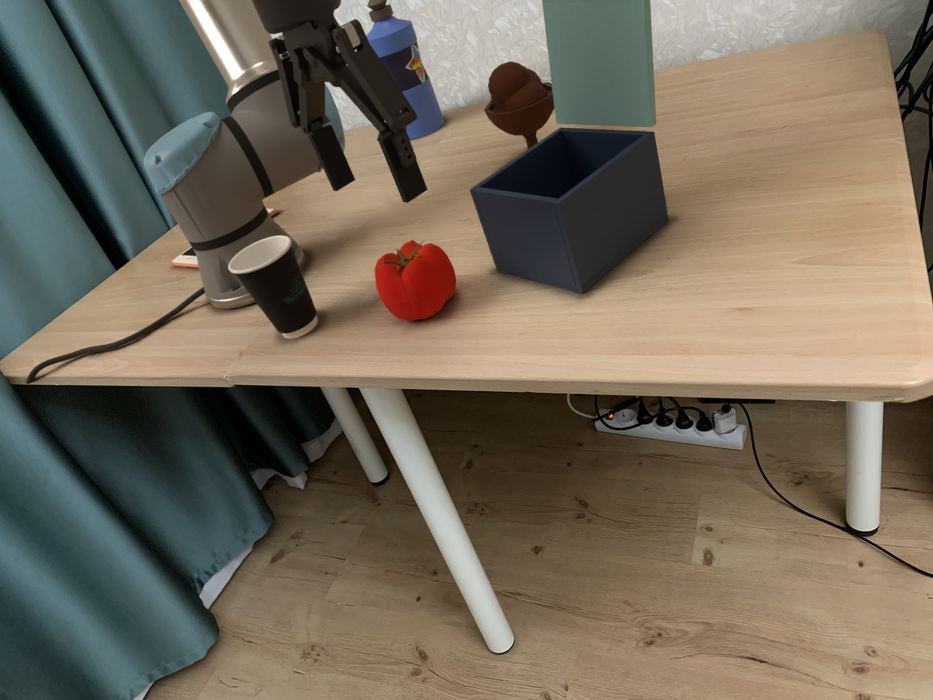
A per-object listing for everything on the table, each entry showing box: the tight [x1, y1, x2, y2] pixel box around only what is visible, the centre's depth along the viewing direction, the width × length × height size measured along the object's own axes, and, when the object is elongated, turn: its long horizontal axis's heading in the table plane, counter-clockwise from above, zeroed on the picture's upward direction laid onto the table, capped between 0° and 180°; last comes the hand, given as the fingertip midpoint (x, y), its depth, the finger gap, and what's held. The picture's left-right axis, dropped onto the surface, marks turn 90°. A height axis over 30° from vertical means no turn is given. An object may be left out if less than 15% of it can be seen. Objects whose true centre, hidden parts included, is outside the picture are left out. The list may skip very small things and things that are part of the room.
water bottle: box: [366, 0, 445, 140], centre depth 131 cm, size 9×9×25 cm
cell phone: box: [171, 208, 277, 269], centre depth 122 cm, size 9×18×1 cm, turn 146°
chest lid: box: [541, 0, 657, 128], centre depth 75 cm, size 17×14×1 cm
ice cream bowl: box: [483, 61, 555, 151], centre depth 103 cm, size 11×11×15 cm
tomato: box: [374, 239, 458, 322], centre depth 80 cm, size 9×9×8 cm
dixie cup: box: [228, 235, 319, 340], centre depth 85 cm, size 8×8×11 cm
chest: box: [469, 126, 670, 295], centre depth 79 cm, size 16×14×11 cm
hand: (377, 190), depth 73 cm, fingers open, 13 cm apart
